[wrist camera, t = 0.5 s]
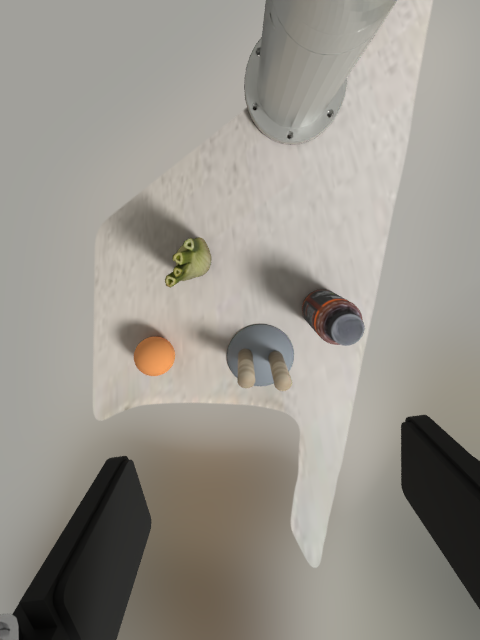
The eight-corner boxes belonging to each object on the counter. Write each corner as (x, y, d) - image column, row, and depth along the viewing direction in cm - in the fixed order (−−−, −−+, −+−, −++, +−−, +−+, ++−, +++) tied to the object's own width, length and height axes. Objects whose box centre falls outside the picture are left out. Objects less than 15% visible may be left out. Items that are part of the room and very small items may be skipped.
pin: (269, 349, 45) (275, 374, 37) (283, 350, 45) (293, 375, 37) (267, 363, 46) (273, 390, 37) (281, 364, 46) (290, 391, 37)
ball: (141, 329, 44) (126, 343, 38) (178, 332, 44) (169, 346, 38) (142, 363, 46) (128, 381, 40) (178, 366, 46) (169, 384, 40)
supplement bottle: (310, 331, 44) (333, 362, 33) (294, 299, 42) (313, 320, 32) (345, 314, 43) (380, 340, 32) (330, 281, 42) (362, 296, 31)
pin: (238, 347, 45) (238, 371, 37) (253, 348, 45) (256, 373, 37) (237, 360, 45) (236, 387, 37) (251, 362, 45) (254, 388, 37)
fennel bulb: (202, 233, 40) (187, 230, 28) (221, 262, 41) (214, 271, 29) (170, 255, 41) (143, 261, 29) (190, 283, 42) (171, 299, 30)
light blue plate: (229, 321, 43) (229, 322, 43) (298, 327, 44) (298, 327, 44) (225, 383, 47) (225, 383, 46) (289, 387, 47) (289, 388, 47)
